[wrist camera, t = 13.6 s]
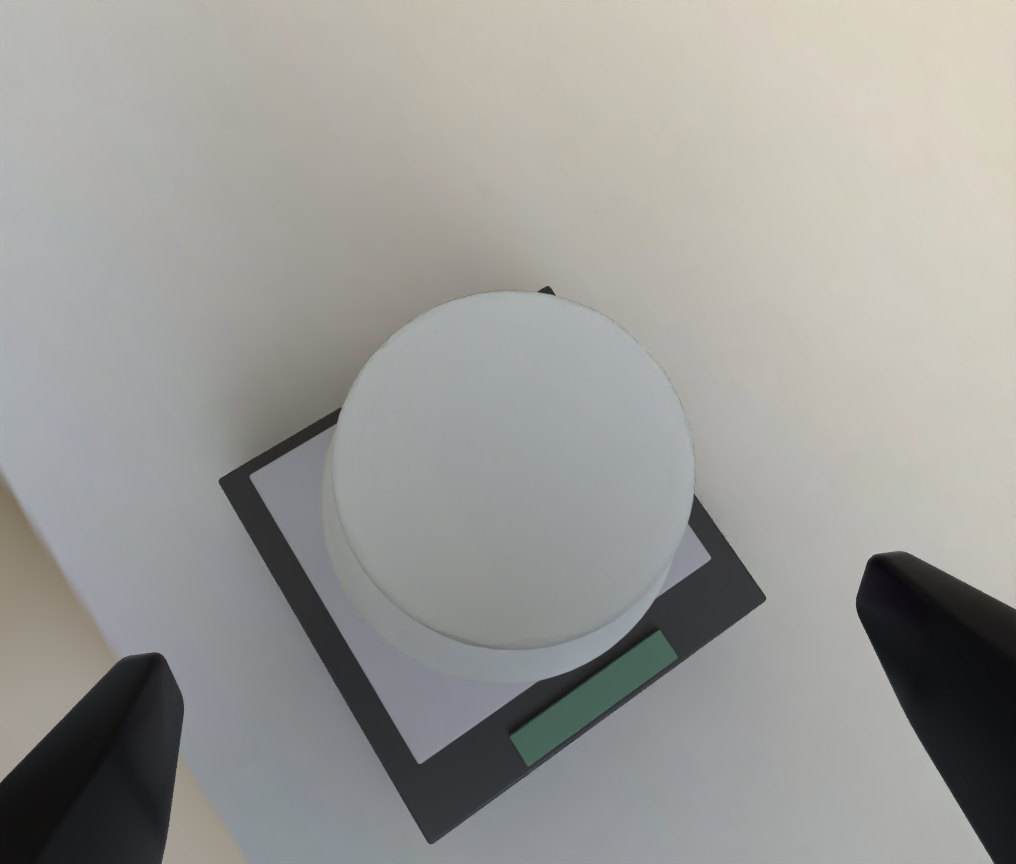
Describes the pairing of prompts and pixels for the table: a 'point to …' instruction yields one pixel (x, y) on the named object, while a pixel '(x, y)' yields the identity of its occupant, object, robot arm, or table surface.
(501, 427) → the pill bottle
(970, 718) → the robot arm
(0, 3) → the table surface
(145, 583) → the table surface
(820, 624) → the table surface
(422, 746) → the scale
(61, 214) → the table surface
